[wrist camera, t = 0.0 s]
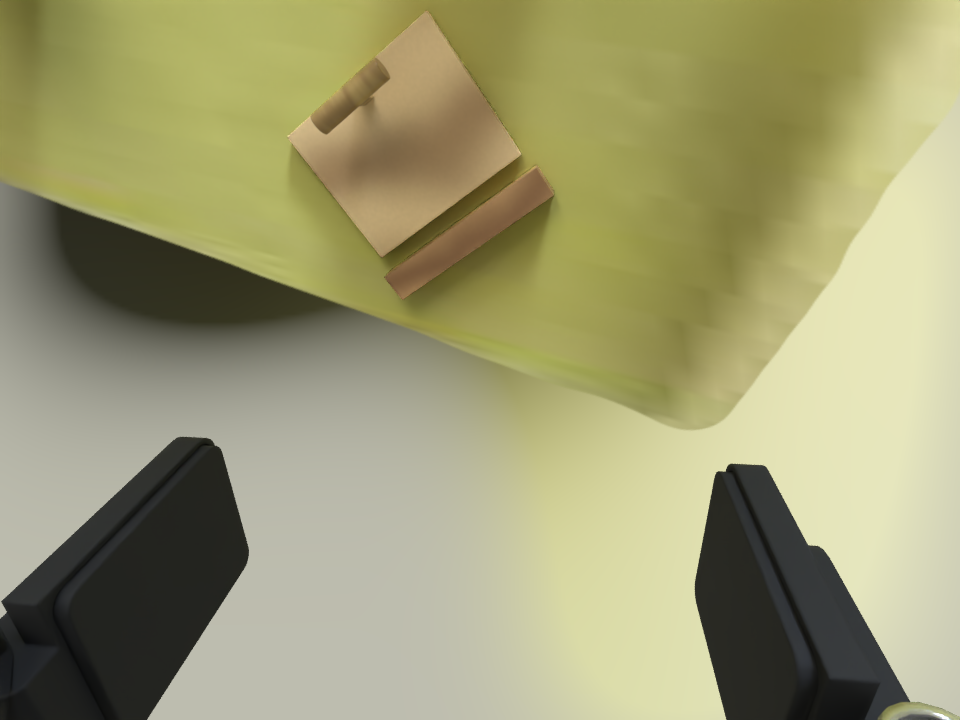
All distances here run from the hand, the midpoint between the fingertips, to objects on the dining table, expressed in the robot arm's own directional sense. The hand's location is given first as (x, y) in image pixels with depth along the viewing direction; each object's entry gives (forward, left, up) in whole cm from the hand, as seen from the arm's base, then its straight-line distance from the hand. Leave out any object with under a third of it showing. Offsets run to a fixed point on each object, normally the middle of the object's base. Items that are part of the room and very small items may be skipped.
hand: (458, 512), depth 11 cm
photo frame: (-8, -7, -37) cm, 39 cm away
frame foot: (0, -7, -37) cm, 38 cm away
